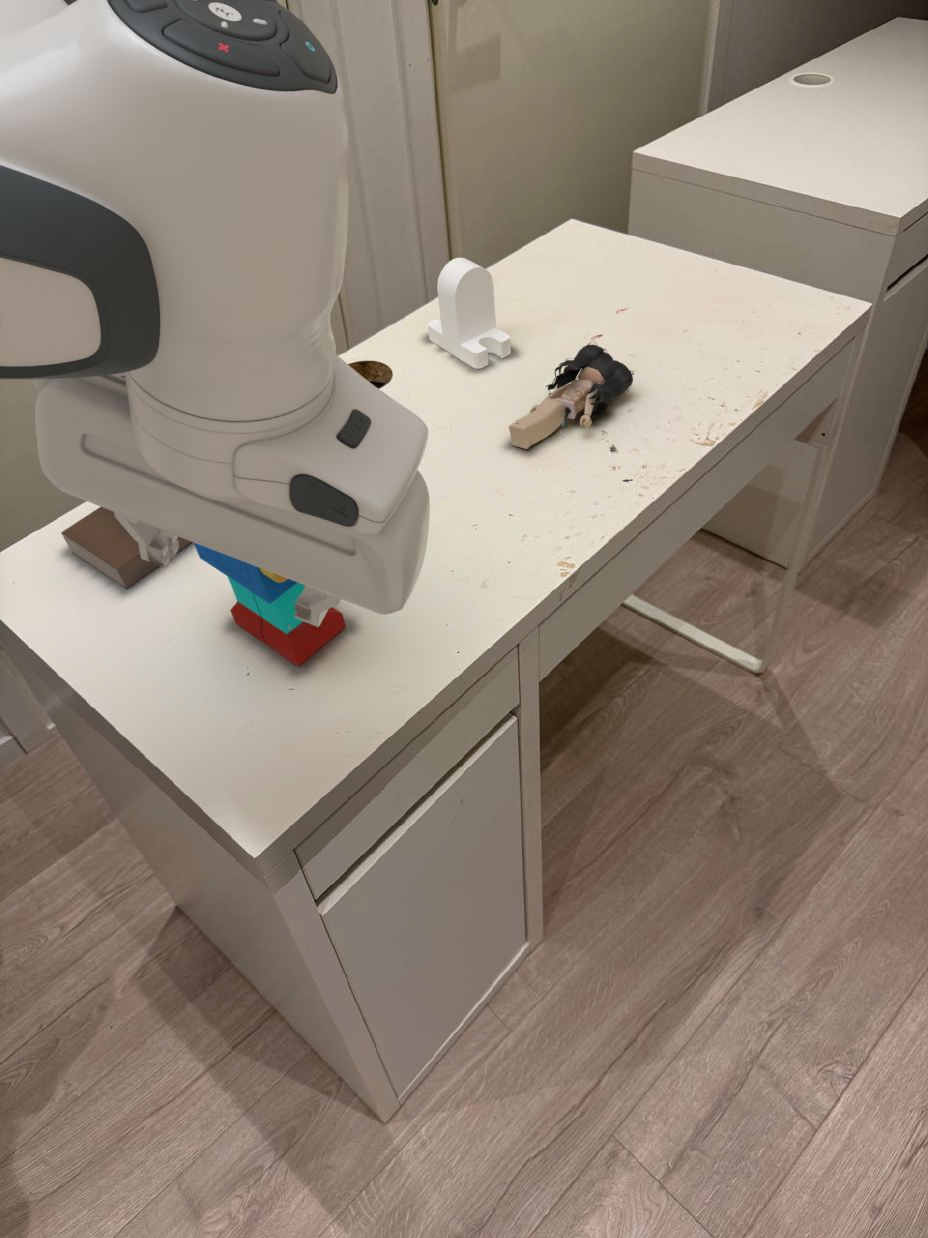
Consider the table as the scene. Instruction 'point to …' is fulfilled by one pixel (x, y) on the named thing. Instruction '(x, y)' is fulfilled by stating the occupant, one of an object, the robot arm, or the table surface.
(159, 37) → the robot arm
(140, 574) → the brown slab
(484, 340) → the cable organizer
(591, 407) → the toy figure
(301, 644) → the toy robot
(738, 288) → the table surface
